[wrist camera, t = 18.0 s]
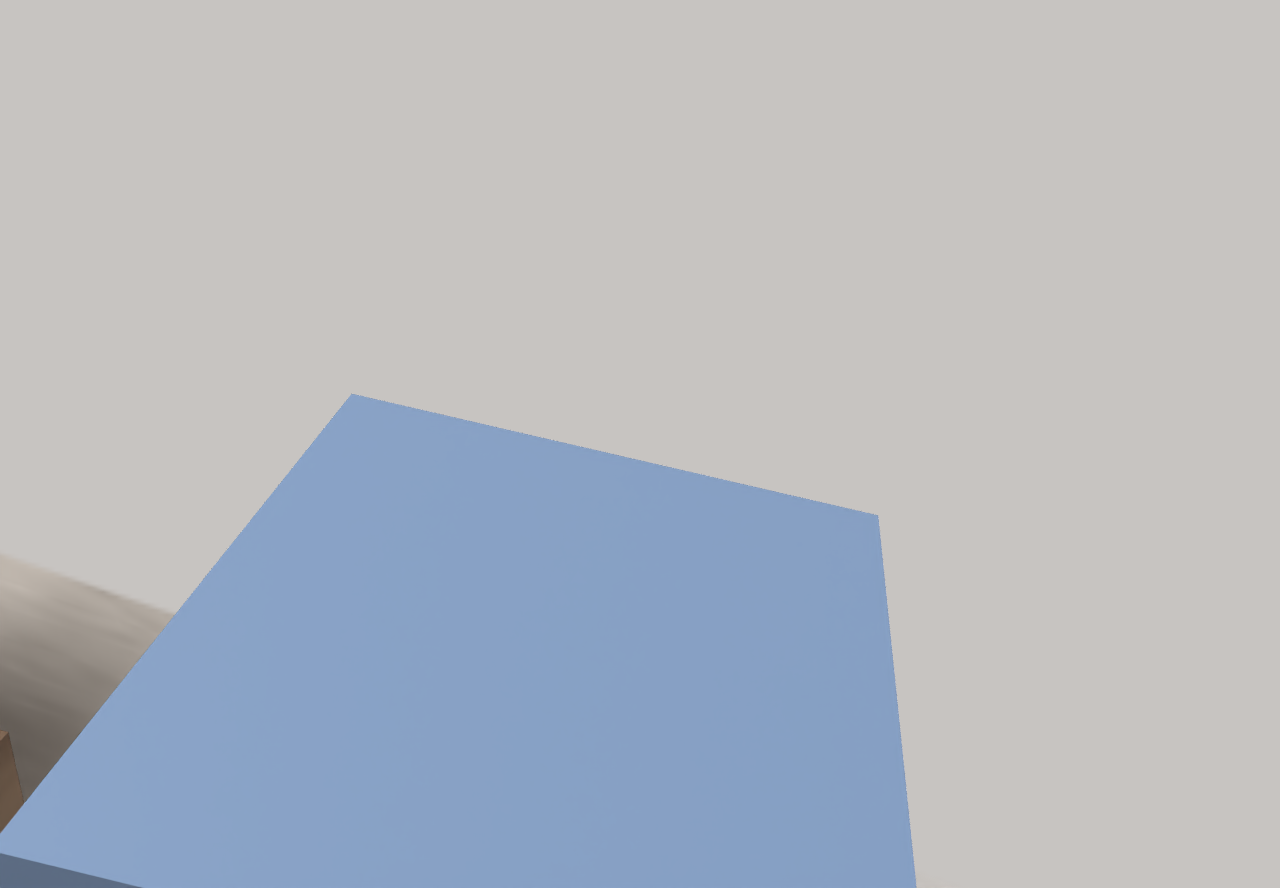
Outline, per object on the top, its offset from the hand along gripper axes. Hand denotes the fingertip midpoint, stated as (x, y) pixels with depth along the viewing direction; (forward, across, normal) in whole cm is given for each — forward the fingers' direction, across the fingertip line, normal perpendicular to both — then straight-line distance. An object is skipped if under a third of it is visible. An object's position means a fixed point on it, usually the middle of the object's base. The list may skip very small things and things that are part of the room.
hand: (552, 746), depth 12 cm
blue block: (-3, 0, +6) cm, 6 cm away
